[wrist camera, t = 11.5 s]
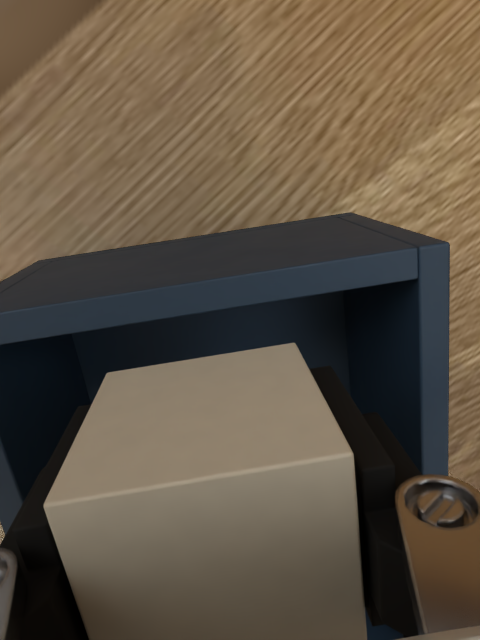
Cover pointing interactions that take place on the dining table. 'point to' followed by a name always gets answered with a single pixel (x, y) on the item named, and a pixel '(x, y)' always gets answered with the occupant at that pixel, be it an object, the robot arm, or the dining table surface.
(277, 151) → the dining table surface
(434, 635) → the robot arm
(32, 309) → the file box
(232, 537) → the block
